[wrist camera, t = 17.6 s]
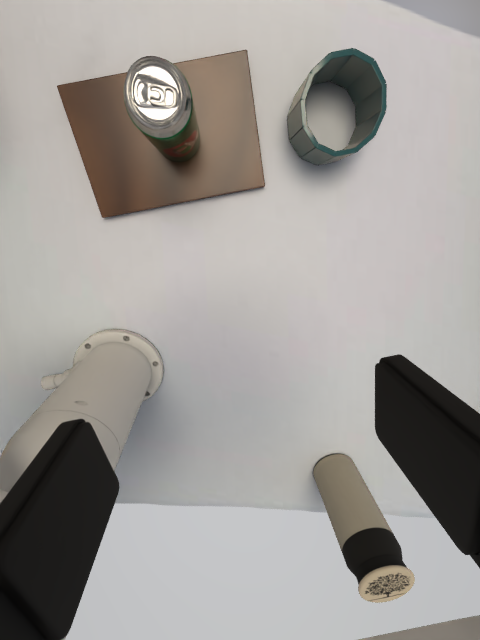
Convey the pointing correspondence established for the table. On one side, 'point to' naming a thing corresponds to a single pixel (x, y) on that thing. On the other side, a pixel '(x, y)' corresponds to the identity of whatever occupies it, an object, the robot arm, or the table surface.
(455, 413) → the robot arm
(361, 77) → the teal cup
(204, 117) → the walnut board
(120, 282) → the table surface
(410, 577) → the travel mug
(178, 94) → the soda can
